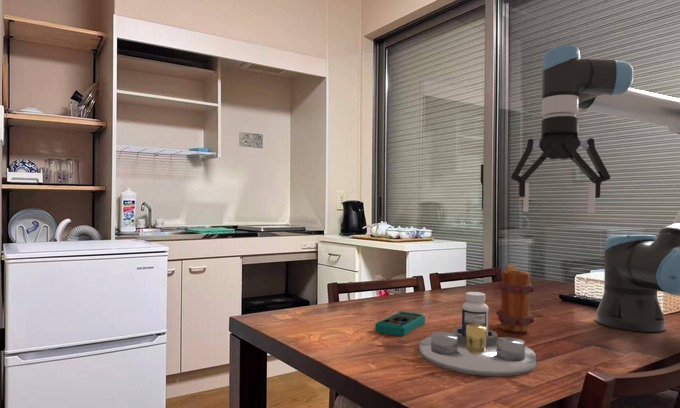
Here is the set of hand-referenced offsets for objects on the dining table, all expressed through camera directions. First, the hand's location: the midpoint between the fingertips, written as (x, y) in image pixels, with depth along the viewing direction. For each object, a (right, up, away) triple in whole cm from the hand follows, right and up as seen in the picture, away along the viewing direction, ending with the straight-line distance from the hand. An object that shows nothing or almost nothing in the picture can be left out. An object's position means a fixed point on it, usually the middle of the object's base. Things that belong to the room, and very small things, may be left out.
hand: (558, 212), depth 105 cm
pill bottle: (-21, -27, -6) cm, 34 cm away
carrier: (-22, -28, -12) cm, 38 cm away
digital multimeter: (-34, -29, +9) cm, 45 cm away
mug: (-6, -29, +10) cm, 31 cm away
